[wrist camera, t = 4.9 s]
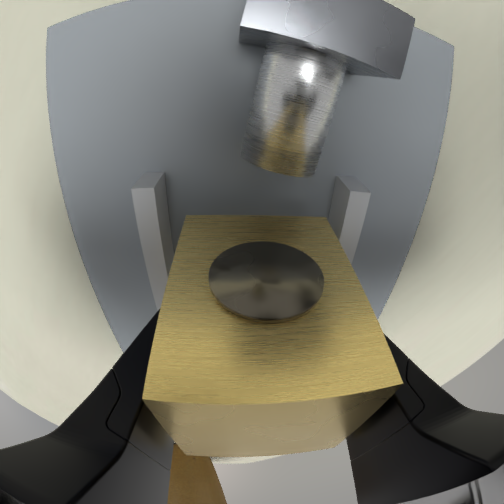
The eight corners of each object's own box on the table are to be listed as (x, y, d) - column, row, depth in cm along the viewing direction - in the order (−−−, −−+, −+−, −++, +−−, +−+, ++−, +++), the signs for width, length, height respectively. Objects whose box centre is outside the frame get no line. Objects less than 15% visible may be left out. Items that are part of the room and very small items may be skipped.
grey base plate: (437, 45, 7) (477, 48, 5) (350, 347, 19) (360, 377, 17) (62, 29, 6) (24, 26, 4) (132, 350, 18) (125, 381, 16)
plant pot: (129, 443, 36) (123, 520, 23) (162, 431, 30) (157, 535, 17) (201, 460, 42) (202, 528, 29) (249, 448, 36) (255, 534, 23)
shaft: (325, 164, 10) (357, 202, 7) (217, 141, 9) (209, 171, 6) (364, 29, 7) (415, 18, 4) (252, -7, 6) (260, -42, 3)
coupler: (304, 313, 12) (333, 448, 7) (197, 314, 11) (186, 455, 6) (326, 212, 9) (407, 379, 4) (186, 210, 8) (138, 395, 4)
